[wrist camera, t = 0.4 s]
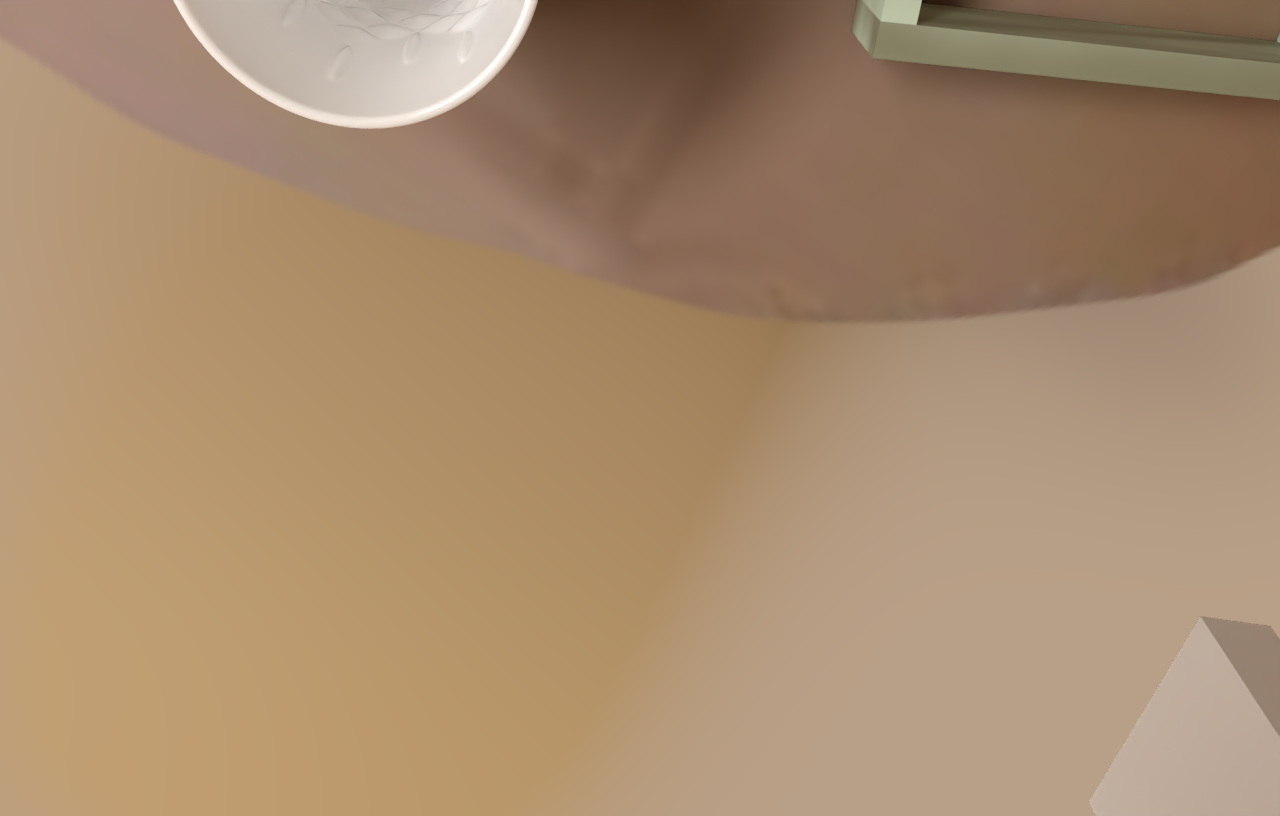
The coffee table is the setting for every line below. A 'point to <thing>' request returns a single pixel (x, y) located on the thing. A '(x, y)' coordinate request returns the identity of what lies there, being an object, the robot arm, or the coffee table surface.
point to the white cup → (361, 53)
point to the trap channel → (1068, 48)
